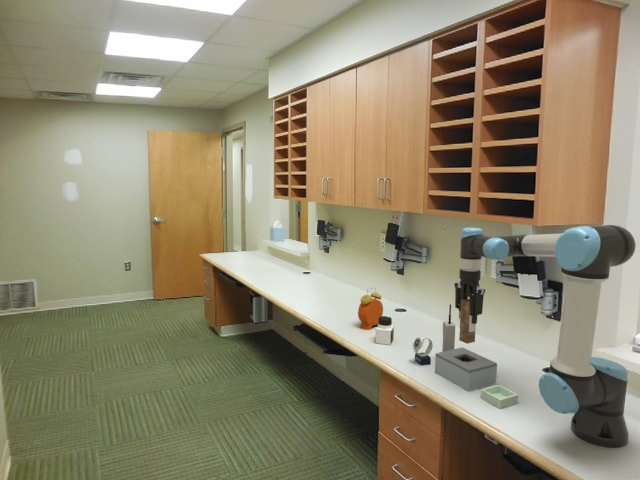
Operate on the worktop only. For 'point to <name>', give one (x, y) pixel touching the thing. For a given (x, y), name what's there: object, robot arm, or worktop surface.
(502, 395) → the green square tray
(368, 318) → the alarm clock
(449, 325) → the grey rectangular bar
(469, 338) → the brown wooden block
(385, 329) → the medicine bottle
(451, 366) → the grey box with hole
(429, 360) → the watch
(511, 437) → the worktop surface
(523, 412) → the worktop surface
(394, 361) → the worktop surface
